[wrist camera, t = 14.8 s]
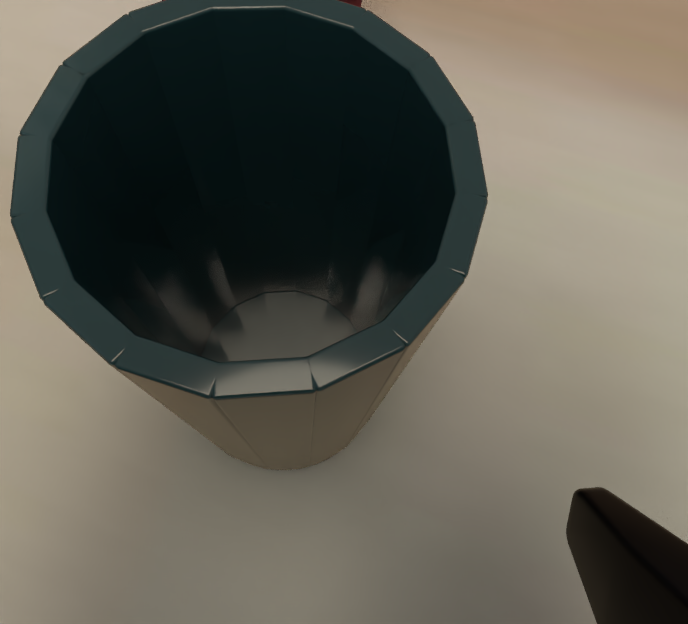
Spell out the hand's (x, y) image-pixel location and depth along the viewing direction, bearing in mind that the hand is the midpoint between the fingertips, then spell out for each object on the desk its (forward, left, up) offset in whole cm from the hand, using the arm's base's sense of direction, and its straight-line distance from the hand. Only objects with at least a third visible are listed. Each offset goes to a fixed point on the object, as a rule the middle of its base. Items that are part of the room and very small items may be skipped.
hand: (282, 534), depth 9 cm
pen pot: (+3, -3, -10) cm, 11 cm away
